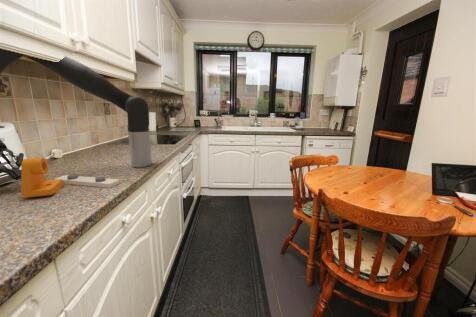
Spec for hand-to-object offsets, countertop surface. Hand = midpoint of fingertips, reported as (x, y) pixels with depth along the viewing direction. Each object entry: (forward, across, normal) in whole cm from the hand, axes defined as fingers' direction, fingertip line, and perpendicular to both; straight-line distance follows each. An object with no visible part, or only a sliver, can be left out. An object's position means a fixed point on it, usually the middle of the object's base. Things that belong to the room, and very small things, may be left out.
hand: (20, 178), depth 73 cm
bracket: (+10, 0, -3) cm, 10 cm away
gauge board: (+14, +10, -8) cm, 19 cm away
